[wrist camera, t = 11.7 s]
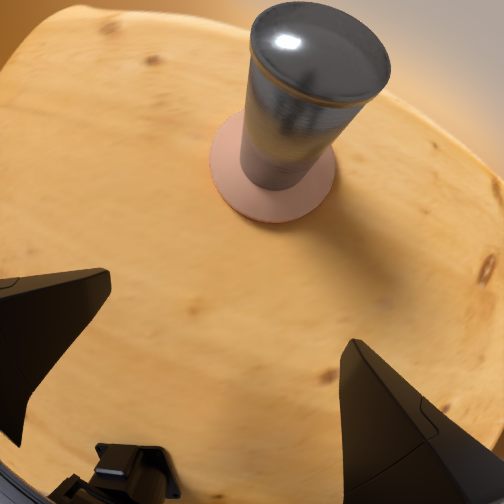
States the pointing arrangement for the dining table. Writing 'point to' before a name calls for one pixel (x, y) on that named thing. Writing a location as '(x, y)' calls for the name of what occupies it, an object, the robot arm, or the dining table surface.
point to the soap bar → (258, 199)
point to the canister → (304, 88)
